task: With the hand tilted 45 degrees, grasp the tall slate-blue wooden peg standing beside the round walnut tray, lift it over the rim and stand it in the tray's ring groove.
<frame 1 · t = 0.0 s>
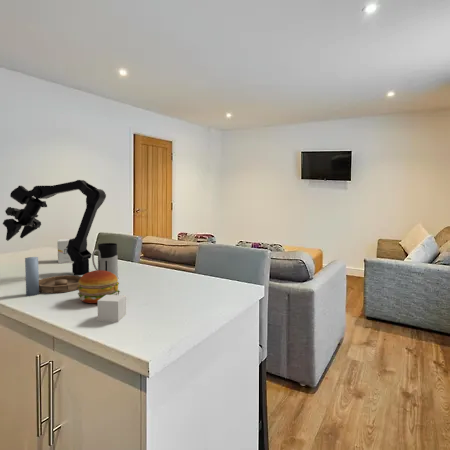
hand: (14, 238, 157), 15 cm above the table, tool tilted 35°, fingers open, 9 cm apart
burger: (99, 300, 118), on the table
white cube: (112, 318, 100), on the table
tray: (61, 287, 133), on the table
ink box: (66, 261, 183), on the table
peg: (32, 294, 123), on the table
grey jug: (104, 281, 143), on the table
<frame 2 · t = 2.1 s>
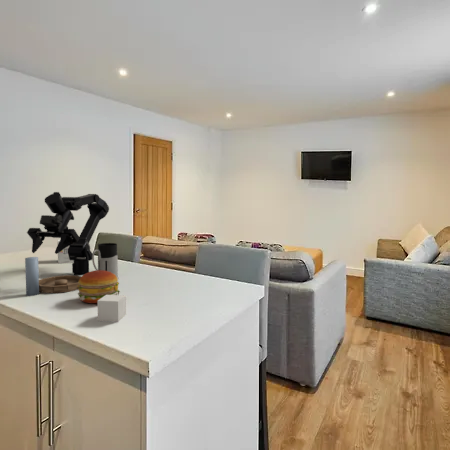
hand: (44, 252, 130), 14 cm above the table, tool tilted 45°, fingers open, 9 cm apart
nothing on the table moved.
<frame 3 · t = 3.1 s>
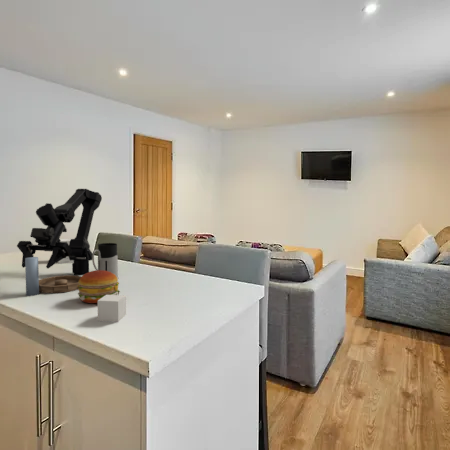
hand: (34, 267, 123), 9 cm above the table, tool tilted 45°, fingers open, 9 cm apart
nothing on the table moved.
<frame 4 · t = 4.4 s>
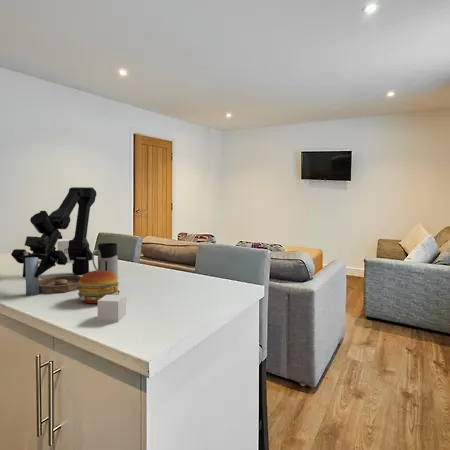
hand: (29, 276, 121), 7 cm above the table, tool tilted 45°, fingers closed on peg, 4 cm apart
peg: (32, 294, 123), on the table, touching gripper
everything else where it was.
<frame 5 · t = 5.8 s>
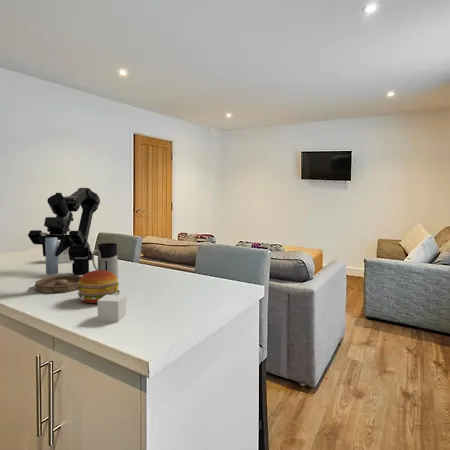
hand: (50, 256, 125), 13 cm above the table, tool tilted 45°, fingers closed on peg, 4 cm apart
peg: (52, 273, 127), point 7 cm above the table, touching gripper
everything else where it was.
when the fingers open (8 cm above the table, at t = 7.3 s): peg stays where it is, resting on tray.
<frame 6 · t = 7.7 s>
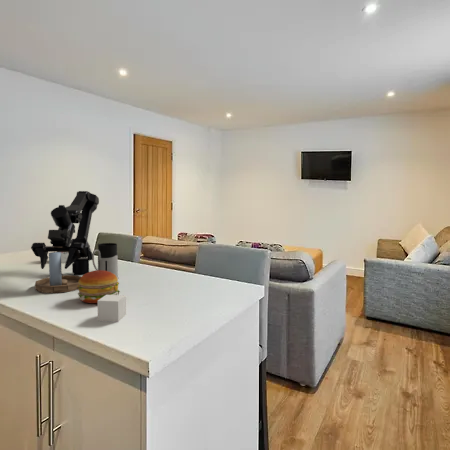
hand: (53, 268, 126), 9 cm above the table, tool tilted 45°, fingers open, 8 cm apart
peg: (55, 287, 128), point 1 cm above the table, touching tray
everything else where it was.
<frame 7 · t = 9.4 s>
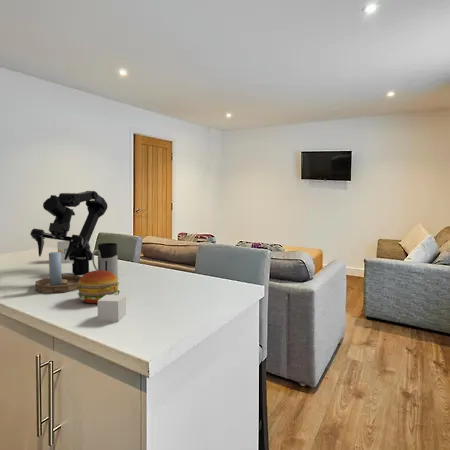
hand: (52, 258, 135), 11 cm above the table, tool tilted 25°, fingers open, 9 cm apart
nothing on the table moved.
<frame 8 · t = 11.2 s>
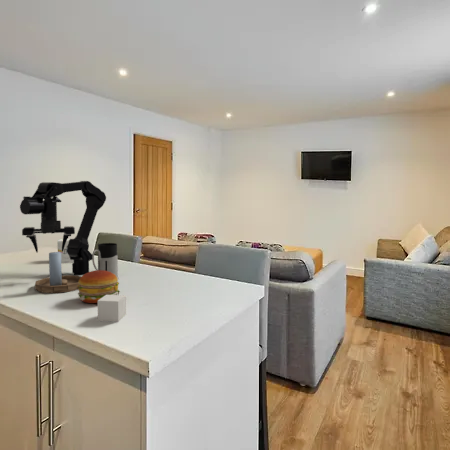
hand: (49, 251, 141), 12 cm above the table, tool pointing down, fingers open, 9 cm apart
nothing on the table moved.
at the end: peg 4.9 cm from the tray (horizontally); peg point 1.0 cm above the table; peg tilted 0° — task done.
